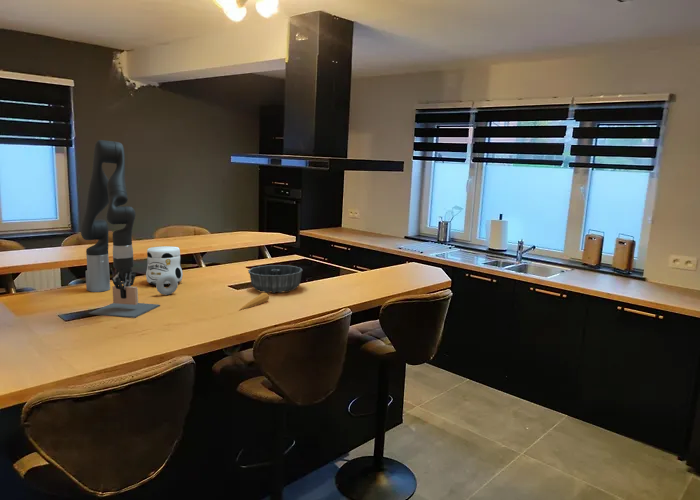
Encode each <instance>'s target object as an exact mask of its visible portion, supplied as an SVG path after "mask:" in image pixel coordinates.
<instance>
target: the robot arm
mask: <svg viewBox="0 0 700 500" xmlns="http://www.w3.org/2000/svg"><path fill="white" fill-rule="evenodd" d="M105 163H106V164H116V167H115V170H114V172H113V173H112V175H111V176H110V177H109V178H108V176H107V175H106V173H105V170H104V168H103V164H105ZM91 171H92V172H91V175H90V176H91V177H90V182H89V185H88V191H87V200H86V205H85V206H86V207H85V210H84V211H85V212H84V214H83V217H82V220H81V225H80V226H81V227H80V234H81V238H82V239H83V240H84V241H85V240H86V241H95V240H96V241H97V242H96V243H95V244H93V245H91V246H88V247H87V248H86V250H85V253H86V254H85V255H86V256H85V257H86V269H87V270H85V285H86V286H85V287H86V291H89V292H91V293H100V292H106V291H109V290H111V281H112V284H113V286H115V287H116V289H120V295H121V298H122V299H125V298H126V286H130V287H133V285H134V284H135V283H134V282H135V279H136V275H137V272H136V271H133V269H132V268H134V266H135V263H134V261H135V260H134V248H133V238H132V237H133V227H134V223H135V221H136V215H137V213H136V211H135V209H134V208H133V206H126V205H125V204H127V203H128V200H129V199H128V197H129V196H128V191H127V187H126V157H125V147H124V145H123V143H121V142H119V141H115V140H113V141H112V140H104V139H99V140H97V141H96V142H95V144H94V149H93V161H92V170H91ZM123 205H125V206H123ZM106 207H107V210H106V219H96V218H97V216H98V215H99V214H100V213H102V211H103V210H105V209H106ZM108 223H109V224H111V225H125V226H124V227H123V228H120V229H117V230H113V231H112V261H113V262H112V263H113V268H114V269H115V276H114V277H113V276H112V277H111V278H110V276H111V275H110V264H109V263H110V259H109V224H108ZM110 279H111V280H110Z"/></svg>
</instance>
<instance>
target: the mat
mask: <svg viewBox="0 0 700 500" xmlns="http://www.w3.org/2000/svg"><path fill="white" fill-rule="evenodd" d="M160 306H161V304H157V303H155V304H154V303H145V302H143V303H142V302H138V304H136V305H131V304H117V303H113V302H112V303H110V304H108V305H107V304H106V305H104V306H102V307H99V308H97V309H95V310H93V311H90V312H88V315H94V316H95V315H96V316H107V317H117V318H118V317H119V318H131V319H135V318H138V317H140V316H142V315H144V314H146V313H148V312H150V311H152V310H154V309H156V308H159V307H160Z"/></svg>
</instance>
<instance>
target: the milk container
mask: <svg viewBox="0 0 700 500" xmlns="http://www.w3.org/2000/svg"><path fill="white" fill-rule="evenodd" d="M146 251H147V252H146V256H147V257H146V260H147V267H146V271H145V272H146V273H145V278H146V282H147V283H148V284H149V285H153V286H156V282H157V280H158V278H159V277H160V276H162V275H163V274H172V275H174V276H175V277H176V278H177V281H178V284H179V283H180V282H182V281H183V276H184V275H183V270H182V269H183V268H182V265H181V250H180V247H178V246H171V245H170V246H168V245H167V246H164V245H163V246H151V247H149V248H147V250H146ZM164 286H170V282H169V281H166V282H165V283H164Z"/></svg>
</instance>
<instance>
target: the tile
mask: <svg viewBox="0 0 700 500" xmlns="http://www.w3.org/2000/svg"><path fill="white" fill-rule="evenodd" d="M138 294H139V293H138V286H131V287H130V286H126V298H125V299H122V298H121V295H120V289H116V287H115V285H113V286H112V303H117V304H131V305H136V304H138V303H139V297H138V296H139V295H138Z"/></svg>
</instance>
